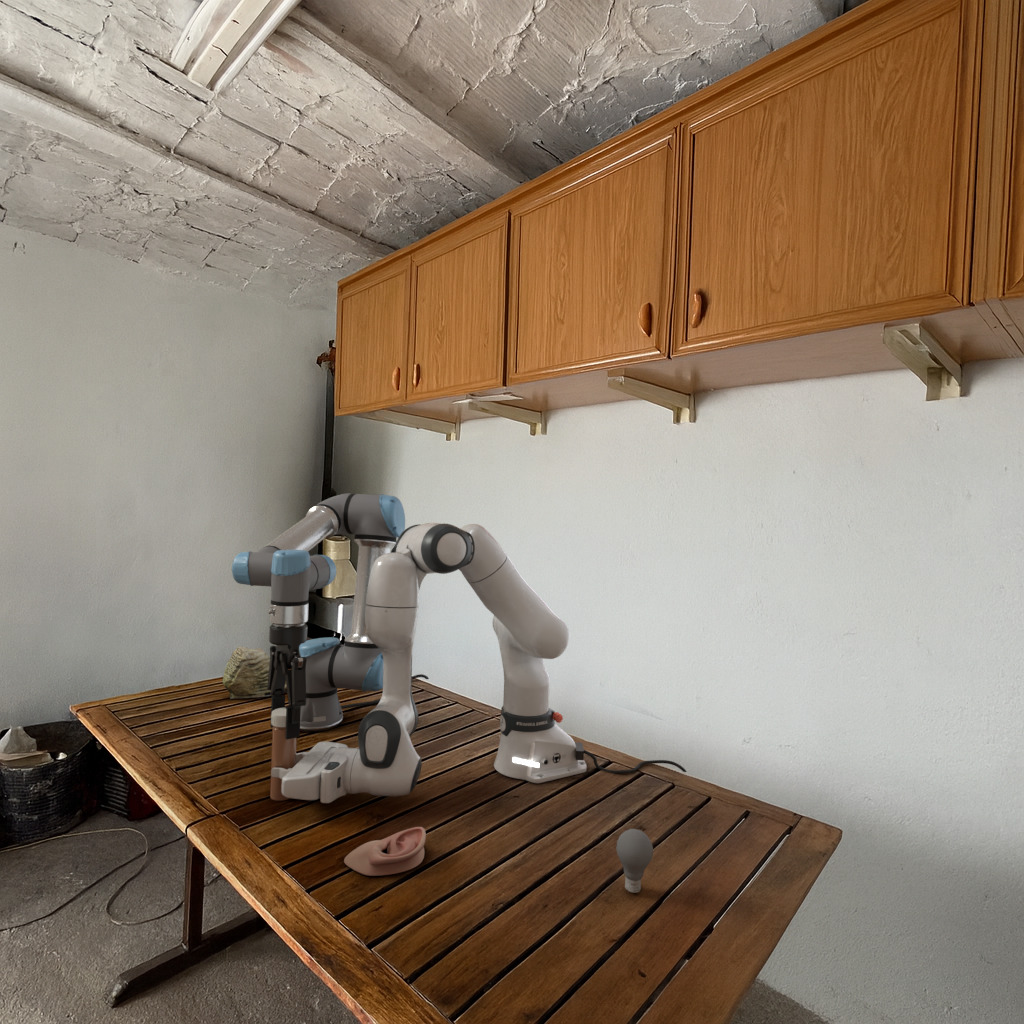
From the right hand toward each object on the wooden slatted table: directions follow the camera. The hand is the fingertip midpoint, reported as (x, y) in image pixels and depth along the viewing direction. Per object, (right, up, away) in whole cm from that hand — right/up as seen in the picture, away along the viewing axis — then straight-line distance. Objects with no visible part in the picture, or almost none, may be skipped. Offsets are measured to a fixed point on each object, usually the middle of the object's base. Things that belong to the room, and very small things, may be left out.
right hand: (279, 764), depth 134 cm
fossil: (-32, -4, +64) cm, 72 cm away
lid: (+1, +11, 0) cm, 11 cm away
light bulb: (+69, -10, -28) cm, 75 cm away
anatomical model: (+27, -8, -22) cm, 35 cm away
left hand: (+1, +7, 0) cm, 7 cm away
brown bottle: (+1, -6, 0) cm, 6 cm away
